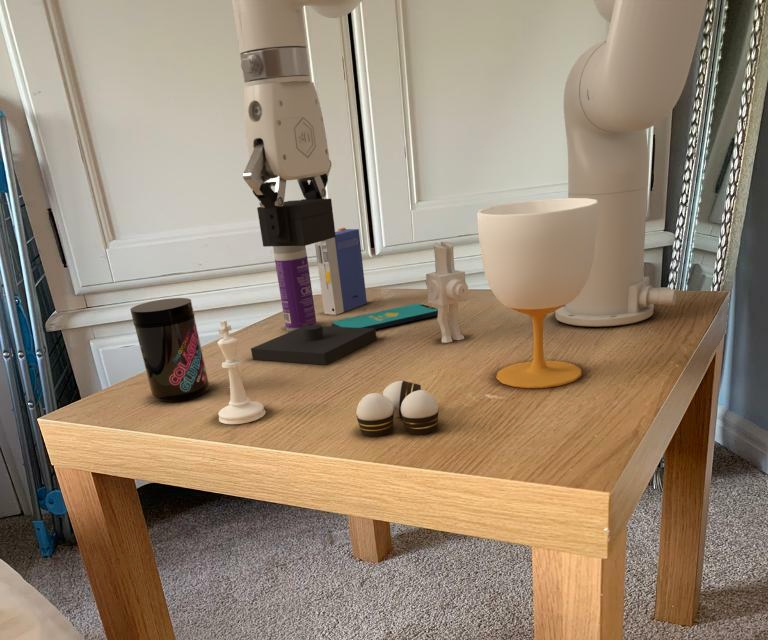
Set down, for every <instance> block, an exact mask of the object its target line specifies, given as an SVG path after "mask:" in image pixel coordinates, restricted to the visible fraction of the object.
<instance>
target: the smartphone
mask: <svg viewBox="0 0 768 640" xmlns="http://www.w3.org/2000/svg"><path fill="white" fill-rule="evenodd" d="M435 316H438V308H436V307H433V306H430V305H427V304H423V303H413V304H409V305H408V304H407V305H404V306H398V307H395V308H390V309H384V310H380V311H375V312H370V313H367V314H362V315H356V316H352V317H347V318H344V319H338V320H334V321H332V322H331V327H352V328H375V329H376V330H378V329H383V328H387V327H391V326H396V325H401V324H405V323H409V322H413V321H418V320H423V319H427V318H432V317H435Z"/></svg>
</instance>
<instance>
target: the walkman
mask: <svg viewBox="0 0 768 640" xmlns="http://www.w3.org/2000/svg"><path fill="white" fill-rule="evenodd" d="M335 235H336V237H334V238H330V239H327V240H324V241H320V242H317V243H314V248H315V255H316V262H317V270H318V277H319V284H320V285H319V286H320V290H321V300H322V306H323V314H324V315H331V316H336V315H340V314H342V313H346V312H348V311H351V310H353V309H356V308H358V307H361V306H364V305H367V304H368V301H367V292H366V291H367V290H366V281H365V274H364V273H365V272H364V264H363V255H362V245H361V238H360V229H359V228H347V229H346V227H340V228H337V231H335Z"/></svg>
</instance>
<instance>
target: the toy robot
mask: <svg viewBox="0 0 768 640" xmlns="http://www.w3.org/2000/svg"><path fill="white" fill-rule="evenodd" d="M433 253H434V264H435V265H434V267H435V271H433V272H428V273H426V274H425V281H424V282H425V285H426V292H427V293H426V294H427V302H428V303H430V304H434V305H438V308H437V309H438V315H437V323H438V325H439V327H440V328H439V329H440V332H441V343H443V344H448V343H452V342H453V341H461V340H464V339H465V336H464V335H463V334H462V333H461V328H460V325H459V303H461V302H466V301H467V295H468V293H469V285H468V283H467V282H466V271H461V270H458V269H457V270H456V269H455V255H454V244H453V243H452V242H449V241H440V244H439V243H438V242H434V244H433Z"/></svg>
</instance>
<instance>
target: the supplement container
mask: <svg viewBox="0 0 768 640" xmlns="http://www.w3.org/2000/svg"><path fill="white" fill-rule="evenodd" d="M130 314H131V317H132V321H133V322H132V323H133V326H134V329H135V333H136V337H137V341H138V344H139V348H140V353H141V356H142V360H143V364H144V369H145V372H146V376H147V380H148V384H149V388H150V393H151V396H153V398H154V399H156V400H157V401H159V402H164V403H176V402H183V401H188V400H192V399H195V398H198V397H200V396H202V395H203V394H206V392H207V391H208V389H209V386H210V382H209V377H208V373H207V368H206V364H205V359H204V355H203V349H202V345H201V339H200V336H199V331H198V326H197V322H196V317H195V316H196V315H195V311H194V307H193V302H192V299H191V298H188V297H173V298H171V297H170V298H163V299H155V300H151V301H147V302H143V303H140V304H137V305H134V306H132V307H130Z"/></svg>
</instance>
